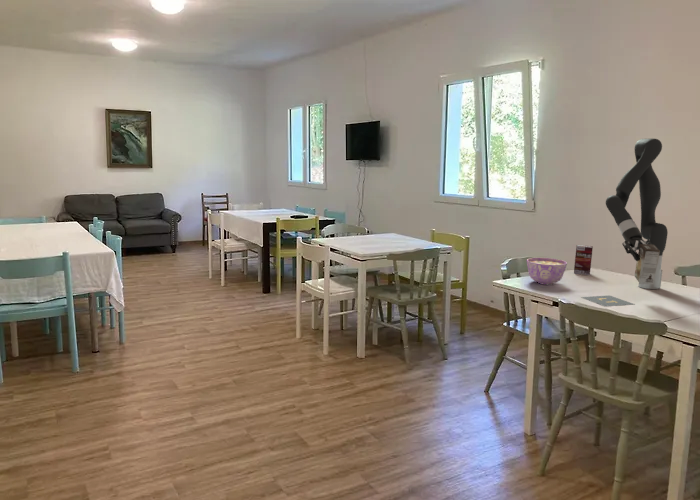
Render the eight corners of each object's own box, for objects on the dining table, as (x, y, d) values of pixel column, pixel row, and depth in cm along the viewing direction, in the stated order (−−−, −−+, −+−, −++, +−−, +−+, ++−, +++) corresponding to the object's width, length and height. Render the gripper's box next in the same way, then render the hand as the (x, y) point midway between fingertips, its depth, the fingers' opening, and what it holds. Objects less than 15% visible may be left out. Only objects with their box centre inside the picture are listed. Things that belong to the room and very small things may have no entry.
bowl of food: (543, 288, 278) (545, 266, 276) (516, 280, 296) (518, 258, 294) (574, 285, 286) (575, 263, 284) (546, 277, 304) (547, 256, 302)
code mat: (609, 295, 267) (609, 295, 267) (634, 304, 251) (634, 304, 251) (581, 297, 262) (581, 297, 262) (604, 306, 247) (604, 306, 247)
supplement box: (573, 273, 315) (576, 246, 312) (573, 272, 319) (576, 244, 317) (590, 275, 312) (592, 247, 309) (590, 273, 316) (592, 246, 314)
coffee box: (633, 276, 261) (639, 243, 255) (648, 277, 259) (654, 244, 254) (639, 283, 252) (645, 249, 247) (654, 284, 251) (660, 250, 246)
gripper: (622, 226, 259) (638, 255, 250) (647, 226, 263) (663, 254, 254) (612, 236, 265) (627, 264, 256) (637, 235, 269) (653, 264, 260)
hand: (645, 259), depth 255 cm, fingers closed on coffee box, 7 cm apart
